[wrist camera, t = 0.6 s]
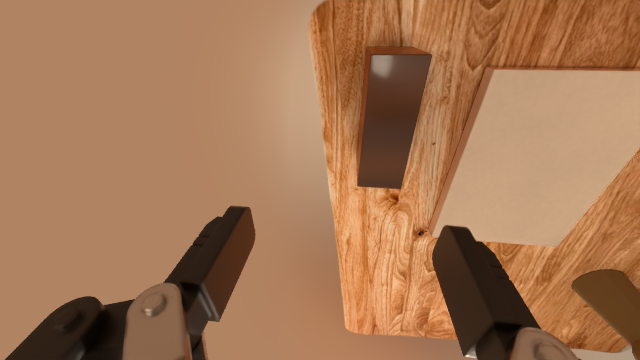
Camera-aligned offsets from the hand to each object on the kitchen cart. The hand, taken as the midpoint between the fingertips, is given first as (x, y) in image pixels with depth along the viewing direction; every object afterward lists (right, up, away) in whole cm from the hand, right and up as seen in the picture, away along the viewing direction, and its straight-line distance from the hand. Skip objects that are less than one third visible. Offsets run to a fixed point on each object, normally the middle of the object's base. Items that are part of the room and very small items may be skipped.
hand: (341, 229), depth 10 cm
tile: (+21, +3, +15) cm, 26 cm away
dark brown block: (+5, +9, +14) cm, 17 cm away
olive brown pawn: (+39, -13, +24) cm, 48 cm away
